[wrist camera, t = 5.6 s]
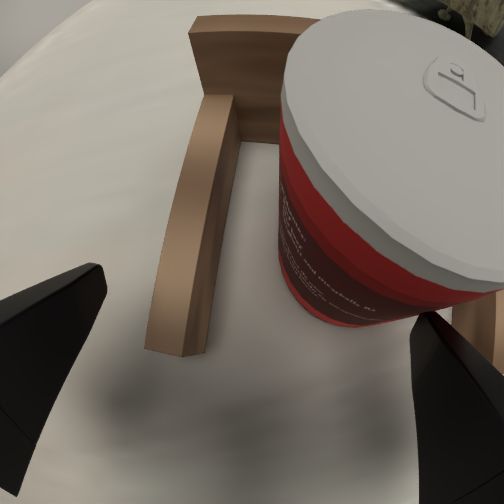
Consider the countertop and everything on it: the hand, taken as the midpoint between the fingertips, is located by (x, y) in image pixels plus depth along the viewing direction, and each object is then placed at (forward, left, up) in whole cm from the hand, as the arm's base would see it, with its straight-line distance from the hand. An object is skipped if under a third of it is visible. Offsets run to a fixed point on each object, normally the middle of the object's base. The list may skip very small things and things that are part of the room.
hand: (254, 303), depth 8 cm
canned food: (+2, -5, -7) cm, 9 cm away
